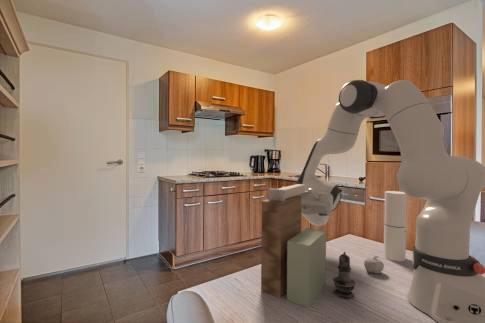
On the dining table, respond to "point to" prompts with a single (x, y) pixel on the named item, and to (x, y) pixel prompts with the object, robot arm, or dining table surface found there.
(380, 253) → the dining table surface
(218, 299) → the dining table surface
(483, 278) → the robot arm
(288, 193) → the beige rectangular bar
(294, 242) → the olive grey block
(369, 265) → the garlic
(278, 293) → the tall stand
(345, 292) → the stone chess bishop
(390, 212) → the cylindrical container
